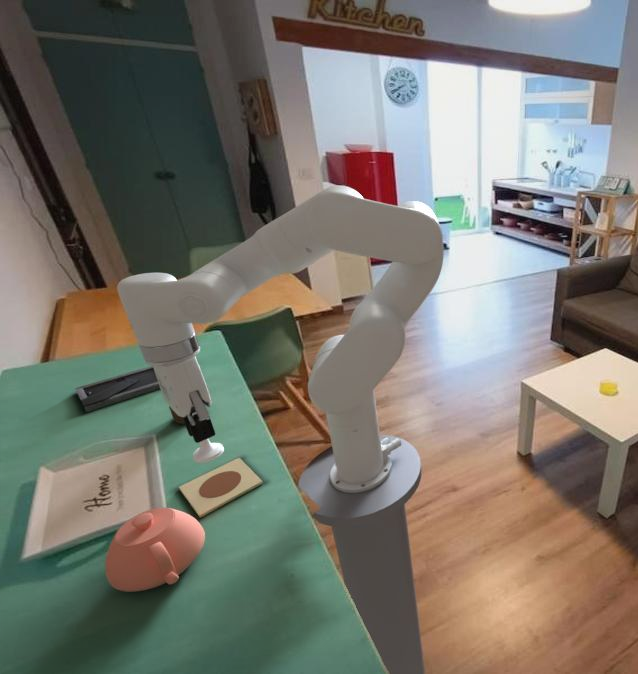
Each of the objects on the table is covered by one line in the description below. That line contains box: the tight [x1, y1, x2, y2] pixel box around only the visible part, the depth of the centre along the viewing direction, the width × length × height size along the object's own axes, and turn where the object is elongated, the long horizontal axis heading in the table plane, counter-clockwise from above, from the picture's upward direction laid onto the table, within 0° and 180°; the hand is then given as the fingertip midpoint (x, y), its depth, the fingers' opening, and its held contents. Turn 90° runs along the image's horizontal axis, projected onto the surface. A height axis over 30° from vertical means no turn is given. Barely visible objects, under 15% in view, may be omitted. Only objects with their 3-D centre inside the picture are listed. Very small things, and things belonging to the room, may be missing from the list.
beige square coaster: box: [178, 457, 264, 519], centre depth 83 cm, size 11×11×1 cm
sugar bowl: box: [104, 507, 206, 593], centre depth 65 cm, size 12×14×10 cm
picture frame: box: [74, 365, 161, 413], centre depth 114 cm, size 13×2×18 cm
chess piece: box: [192, 412, 225, 464], centre depth 77 cm, size 5×5×10 cm
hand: (202, 434), depth 78 cm, fingers closed on chess piece
